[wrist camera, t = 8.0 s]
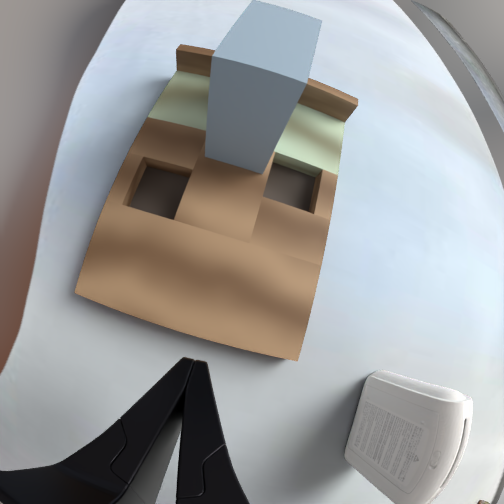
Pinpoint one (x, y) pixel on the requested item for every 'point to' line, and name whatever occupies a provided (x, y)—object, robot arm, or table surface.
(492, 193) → the table surface
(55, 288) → the table surface
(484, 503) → the decorative bird
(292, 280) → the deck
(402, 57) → the table surface
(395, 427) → the photo printer
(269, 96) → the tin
